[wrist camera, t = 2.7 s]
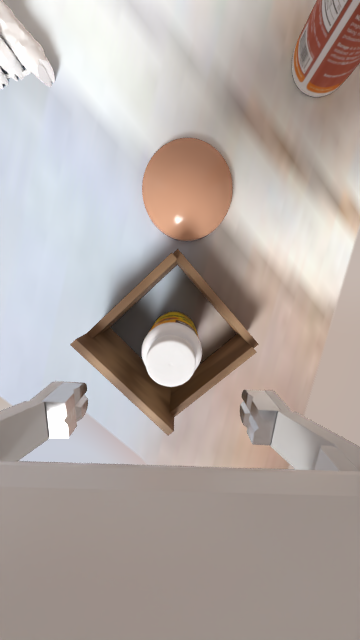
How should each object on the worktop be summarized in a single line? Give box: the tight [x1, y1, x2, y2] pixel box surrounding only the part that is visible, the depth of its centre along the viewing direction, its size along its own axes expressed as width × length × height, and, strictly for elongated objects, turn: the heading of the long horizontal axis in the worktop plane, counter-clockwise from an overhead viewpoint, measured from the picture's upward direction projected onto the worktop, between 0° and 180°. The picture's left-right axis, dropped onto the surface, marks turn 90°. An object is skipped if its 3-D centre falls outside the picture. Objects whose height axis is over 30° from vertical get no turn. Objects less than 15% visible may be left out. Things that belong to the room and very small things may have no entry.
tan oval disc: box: [142, 138, 233, 241], centre depth 20 cm, size 10×10×1 cm
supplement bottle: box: [142, 311, 202, 387], centre depth 19 cm, size 6×6×10 cm
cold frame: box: [70, 249, 258, 435], centre depth 20 cm, size 14×14×7 cm
